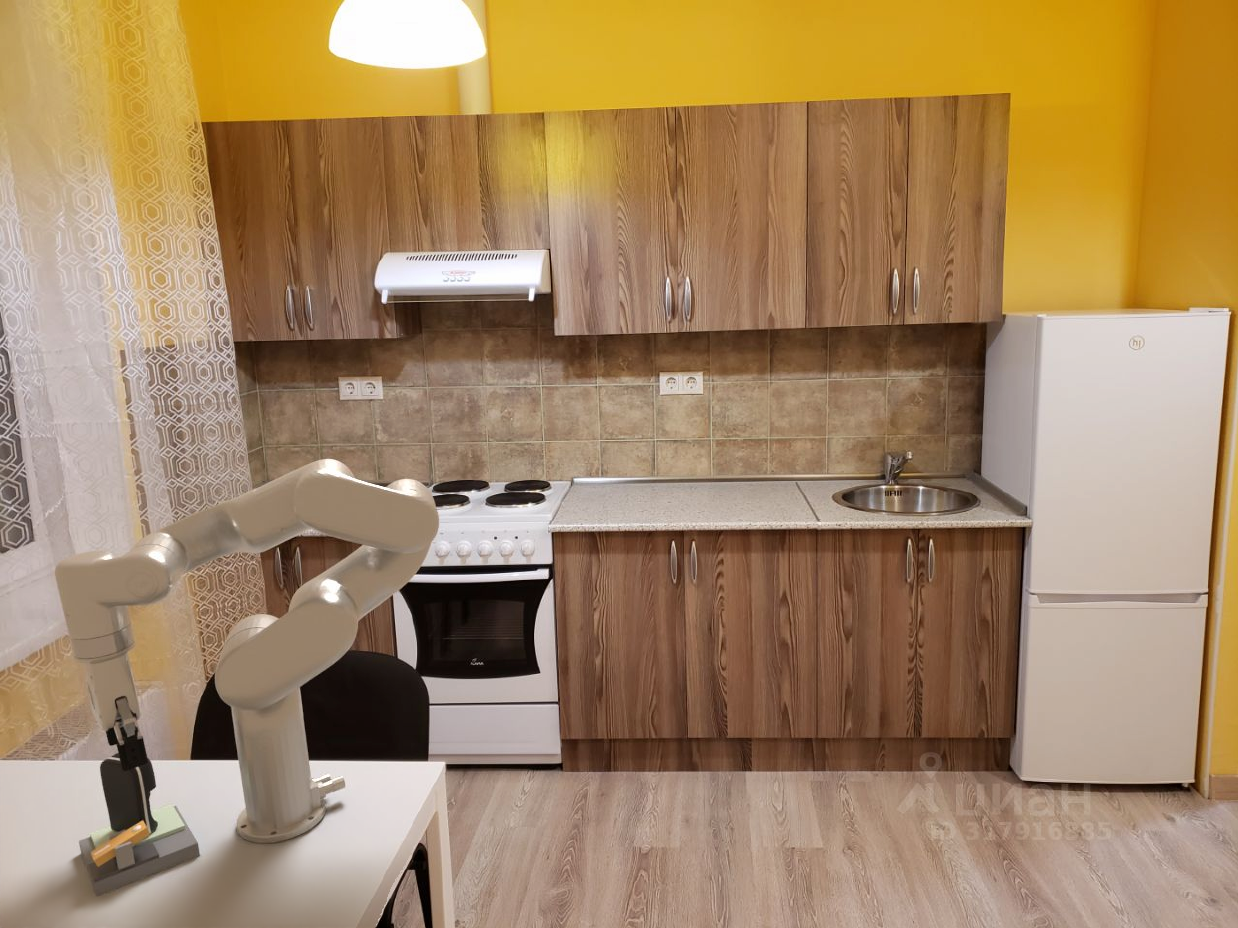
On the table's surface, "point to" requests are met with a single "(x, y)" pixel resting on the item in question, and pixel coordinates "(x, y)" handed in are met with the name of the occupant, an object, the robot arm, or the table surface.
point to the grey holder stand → (140, 851)
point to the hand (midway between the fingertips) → (128, 753)
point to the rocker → (119, 842)
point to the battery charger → (128, 794)
